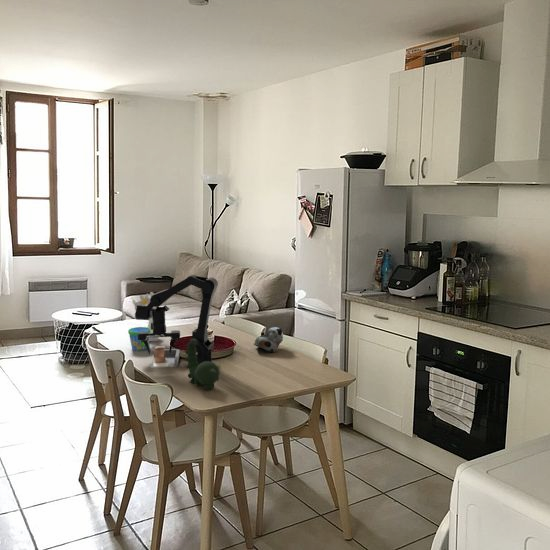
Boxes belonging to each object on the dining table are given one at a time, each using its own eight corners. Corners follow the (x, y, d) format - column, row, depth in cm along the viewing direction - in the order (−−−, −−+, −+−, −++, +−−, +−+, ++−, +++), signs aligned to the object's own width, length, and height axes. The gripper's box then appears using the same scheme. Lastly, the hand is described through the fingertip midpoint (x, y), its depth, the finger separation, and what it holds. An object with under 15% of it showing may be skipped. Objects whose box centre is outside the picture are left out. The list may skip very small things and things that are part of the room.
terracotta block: (164, 358, 287) (164, 345, 286) (163, 362, 281) (163, 349, 280) (156, 358, 287) (155, 345, 286) (154, 362, 281) (154, 349, 280)
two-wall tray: (179, 355, 293) (179, 349, 292) (177, 367, 275) (177, 360, 275) (153, 356, 292) (153, 349, 291) (150, 368, 274) (149, 361, 273)
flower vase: (130, 339, 322) (128, 292, 318) (164, 335, 331) (162, 289, 327) (138, 345, 311) (136, 296, 307) (172, 340, 320) (171, 293, 316)
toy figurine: (180, 382, 260) (205, 395, 239) (178, 338, 259) (203, 347, 237) (201, 378, 265) (227, 390, 244) (198, 335, 263) (225, 343, 242)
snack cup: (154, 352, 299) (153, 332, 297) (132, 355, 294) (131, 334, 293) (147, 344, 313) (146, 324, 311) (126, 346, 309) (125, 326, 307)
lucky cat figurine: (255, 345, 310) (267, 320, 311) (276, 356, 308) (288, 331, 309) (250, 345, 295) (263, 319, 296) (272, 356, 293) (285, 330, 294)
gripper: (180, 315, 290) (181, 348, 292) (140, 316, 288) (141, 349, 290) (179, 321, 279) (180, 354, 281) (137, 322, 277) (138, 355, 280)
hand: (159, 353), depth 283 cm, fingers open, 9 cm apart
